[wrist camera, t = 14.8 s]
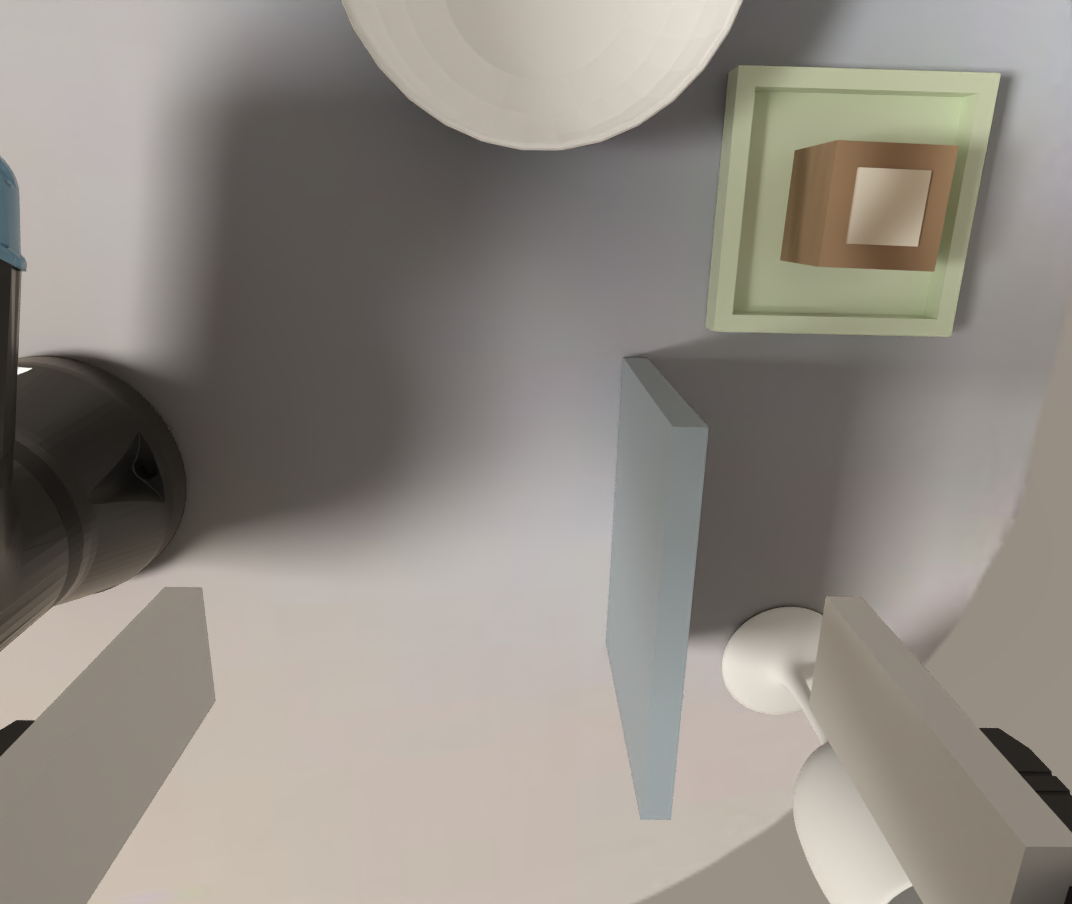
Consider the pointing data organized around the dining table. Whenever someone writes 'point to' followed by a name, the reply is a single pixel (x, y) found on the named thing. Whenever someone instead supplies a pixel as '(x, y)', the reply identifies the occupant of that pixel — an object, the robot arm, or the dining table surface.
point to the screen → (653, 573)
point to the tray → (764, 181)
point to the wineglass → (814, 761)
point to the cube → (868, 205)
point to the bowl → (542, 62)
